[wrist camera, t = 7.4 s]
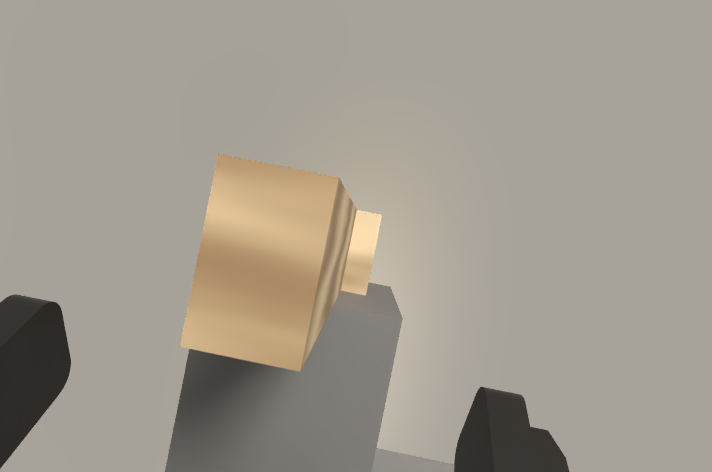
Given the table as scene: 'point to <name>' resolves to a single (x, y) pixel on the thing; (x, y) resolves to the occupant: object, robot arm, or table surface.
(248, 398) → the stand
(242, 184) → the tan wooden bar piece
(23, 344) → the robot arm
